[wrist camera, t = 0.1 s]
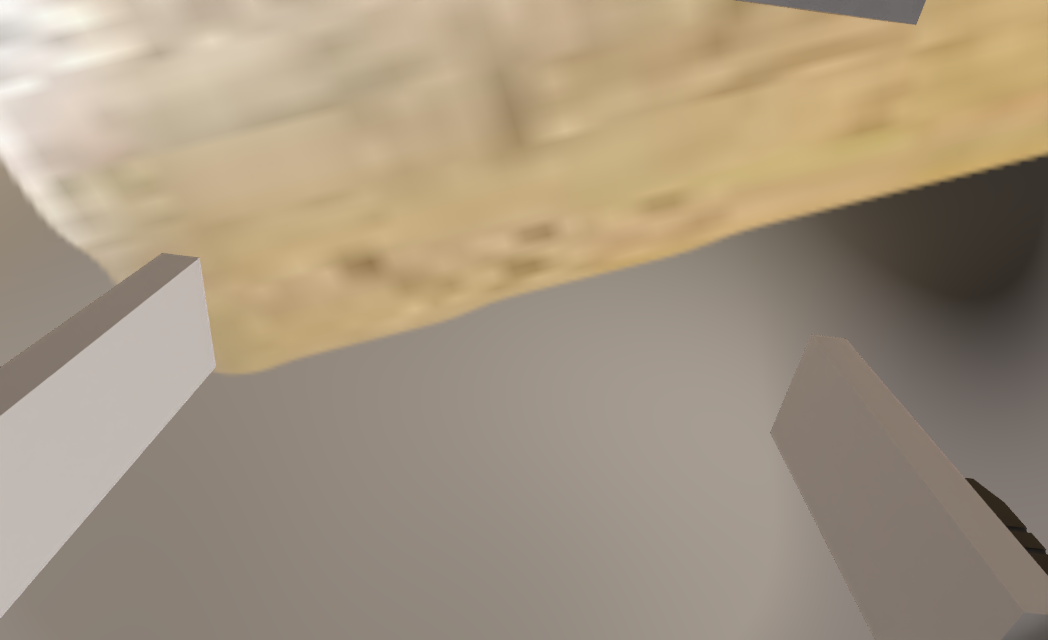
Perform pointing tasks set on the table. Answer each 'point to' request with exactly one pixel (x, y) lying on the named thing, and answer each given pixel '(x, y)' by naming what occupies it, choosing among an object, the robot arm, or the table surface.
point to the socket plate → (858, 8)
